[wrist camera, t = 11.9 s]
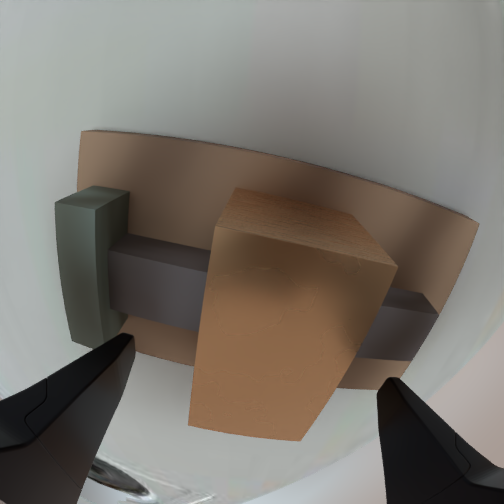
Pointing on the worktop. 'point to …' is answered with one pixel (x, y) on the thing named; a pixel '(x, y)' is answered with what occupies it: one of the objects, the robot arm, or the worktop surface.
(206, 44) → the worktop surface
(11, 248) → the worktop surface
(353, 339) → the block
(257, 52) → the worktop surface
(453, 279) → the rail board
